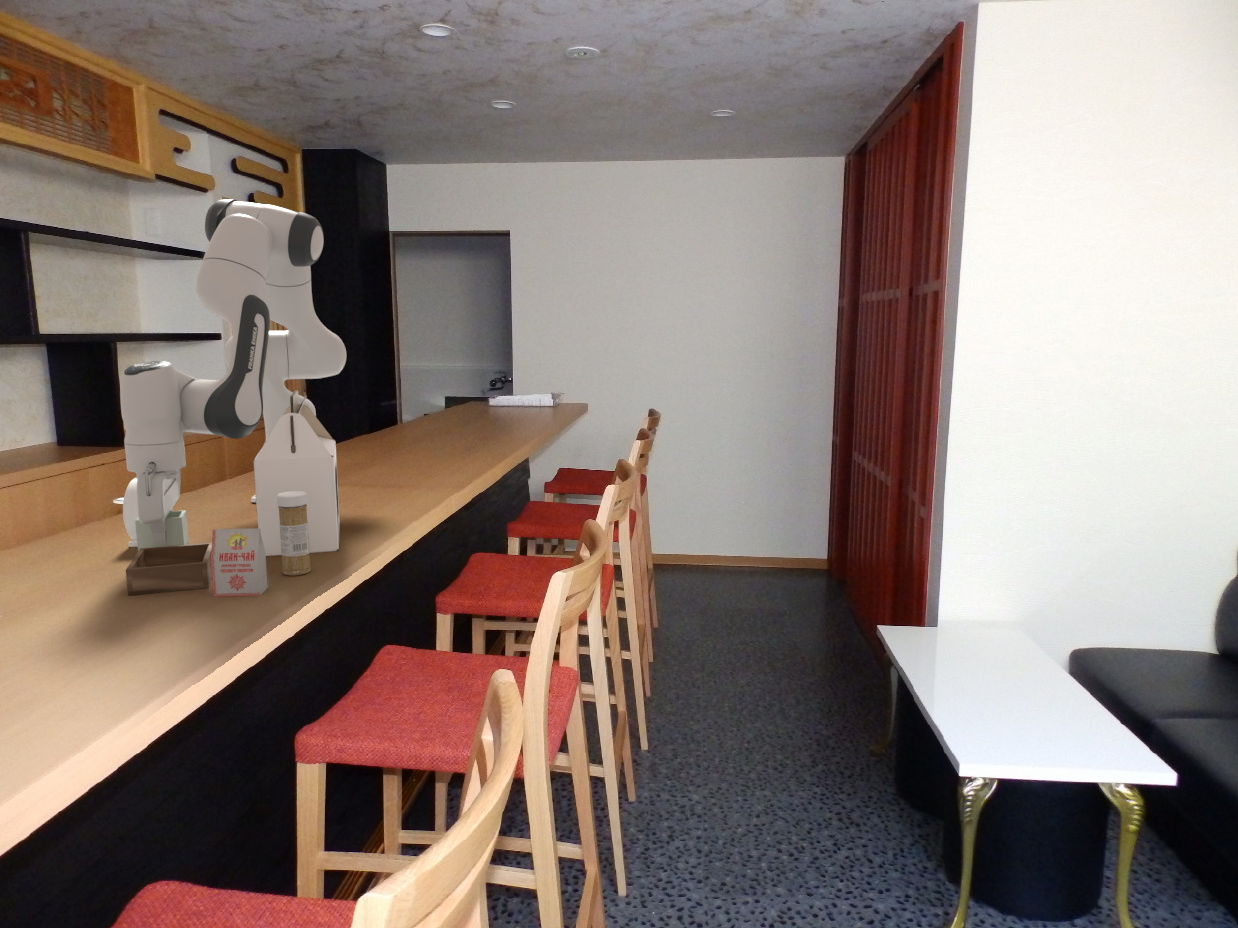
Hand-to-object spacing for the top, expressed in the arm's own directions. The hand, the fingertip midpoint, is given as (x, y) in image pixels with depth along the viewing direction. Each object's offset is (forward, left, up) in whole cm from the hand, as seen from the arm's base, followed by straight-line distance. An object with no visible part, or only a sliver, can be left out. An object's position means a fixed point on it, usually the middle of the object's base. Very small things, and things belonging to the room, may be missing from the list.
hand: (163, 536), depth 145 cm
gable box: (-7, +22, -4) cm, 24 cm away
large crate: (+13, +3, -4) cm, 14 cm away
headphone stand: (-13, -5, -4) cm, 15 cm away
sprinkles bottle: (+16, +21, -4) cm, 27 cm away
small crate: (0, 0, -2) cm, 2 cm away
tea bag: (+24, +13, -4) cm, 27 cm away
